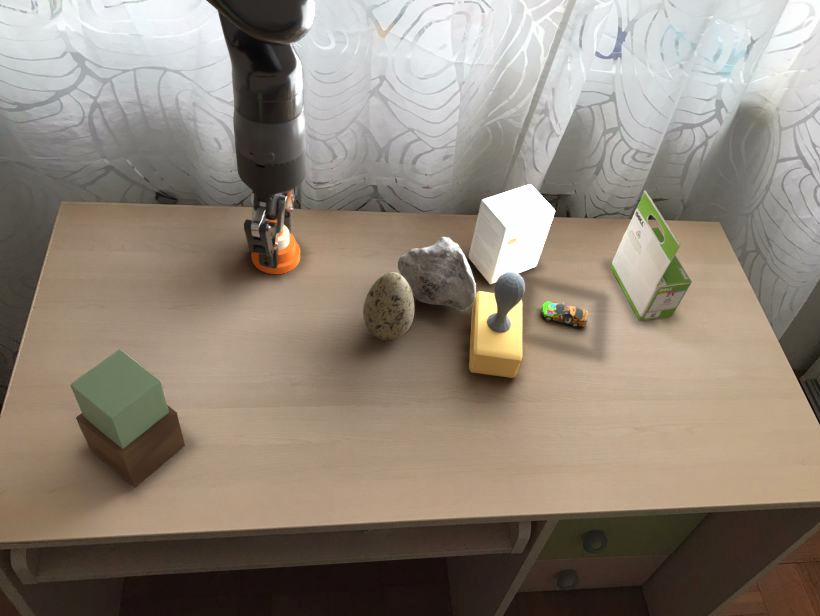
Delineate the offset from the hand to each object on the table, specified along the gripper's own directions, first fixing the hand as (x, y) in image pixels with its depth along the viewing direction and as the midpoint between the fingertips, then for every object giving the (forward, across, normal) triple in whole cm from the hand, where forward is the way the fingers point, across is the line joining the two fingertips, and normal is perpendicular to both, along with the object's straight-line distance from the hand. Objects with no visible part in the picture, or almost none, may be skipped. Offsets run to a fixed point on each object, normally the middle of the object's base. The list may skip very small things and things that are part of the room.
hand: (275, 250), depth 94 cm
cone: (+1, 0, 0) cm, 1 cm away
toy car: (+1, 0, +38) cm, 38 cm away
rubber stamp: (+1, +6, +29) cm, 30 cm away
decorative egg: (+1, +8, +16) cm, 18 cm away
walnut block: (+1, +30, -5) cm, 30 cm away
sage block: (-5, +30, -5) cm, 31 cm away
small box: (+1, -8, +29) cm, 30 cm away
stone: (+1, +2, +20) cm, 21 cm away
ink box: (+1, -8, +48) cm, 49 cm away
